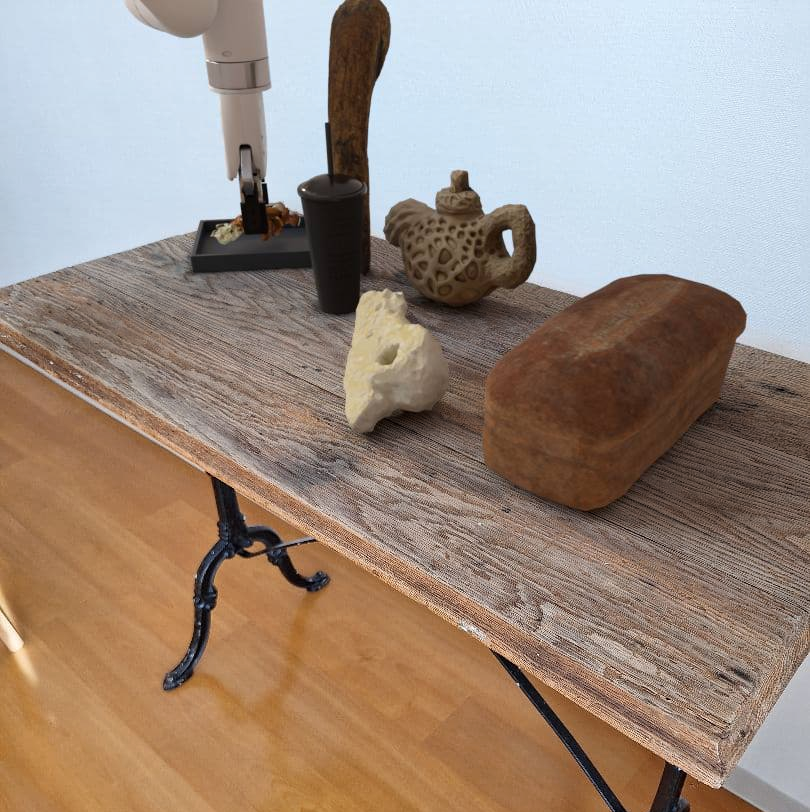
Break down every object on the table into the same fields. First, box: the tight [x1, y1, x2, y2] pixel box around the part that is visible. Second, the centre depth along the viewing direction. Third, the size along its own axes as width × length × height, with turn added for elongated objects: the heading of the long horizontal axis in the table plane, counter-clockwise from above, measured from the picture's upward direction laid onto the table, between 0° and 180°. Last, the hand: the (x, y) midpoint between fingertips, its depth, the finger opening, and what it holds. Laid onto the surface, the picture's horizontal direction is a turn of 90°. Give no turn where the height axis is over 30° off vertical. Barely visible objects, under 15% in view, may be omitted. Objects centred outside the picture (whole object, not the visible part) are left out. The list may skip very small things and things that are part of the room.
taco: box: [211, 200, 301, 245], centre depth 109 cm, size 7×12×4 cm, turn 130°
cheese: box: [342, 287, 450, 434], centre depth 78 cm, size 15×7×15 cm
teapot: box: [382, 169, 538, 308], centre depth 93 cm, size 21×12×15 cm, turn 49°
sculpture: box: [327, 0, 392, 277], centre depth 96 cm, size 7×7×30 cm
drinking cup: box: [296, 121, 367, 315], centre depth 91 cm, size 8×8×20 cm
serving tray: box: [190, 215, 313, 273], centre depth 111 cm, size 17×14×2 cm
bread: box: [481, 273, 748, 512], centre depth 71 cm, size 14×28×12 cm, turn 141°
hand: (257, 222), depth 110 cm, fingers closed on taco, 7 cm apart
